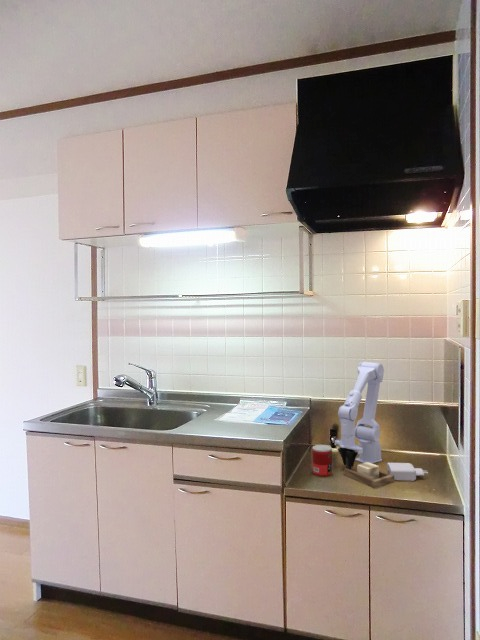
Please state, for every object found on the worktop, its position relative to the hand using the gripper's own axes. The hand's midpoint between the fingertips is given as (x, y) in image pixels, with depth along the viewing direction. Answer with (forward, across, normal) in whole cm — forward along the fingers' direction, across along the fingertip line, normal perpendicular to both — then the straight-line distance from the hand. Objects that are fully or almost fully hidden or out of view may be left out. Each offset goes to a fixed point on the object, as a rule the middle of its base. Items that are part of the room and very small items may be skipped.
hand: (348, 465), depth 198 cm
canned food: (+2, -4, -11) cm, 12 cm away
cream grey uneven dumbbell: (+2, +6, 0) cm, 7 cm away
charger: (+2, +19, +14) cm, 24 cm away
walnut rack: (+2, +10, 0) cm, 11 cm away
